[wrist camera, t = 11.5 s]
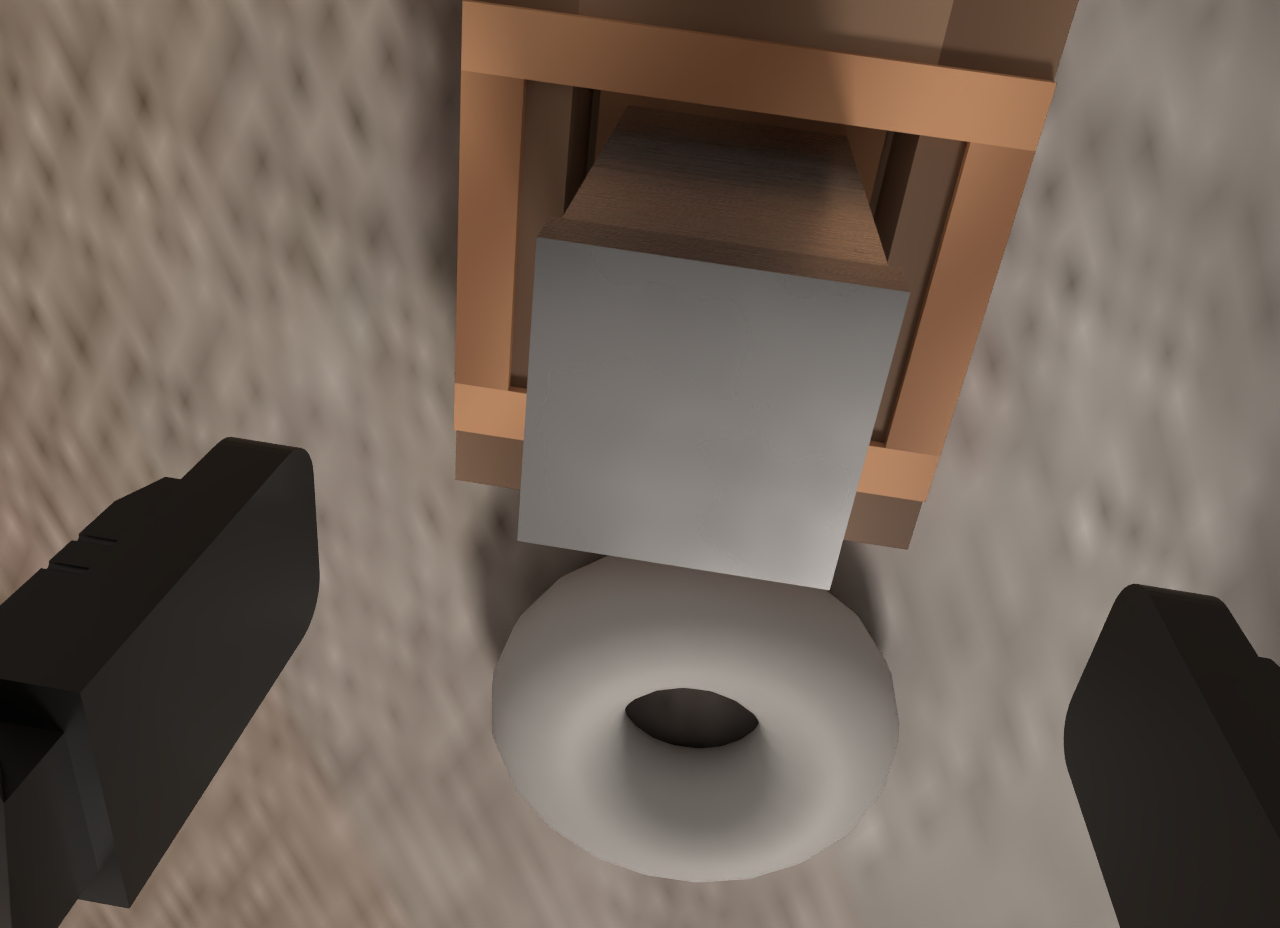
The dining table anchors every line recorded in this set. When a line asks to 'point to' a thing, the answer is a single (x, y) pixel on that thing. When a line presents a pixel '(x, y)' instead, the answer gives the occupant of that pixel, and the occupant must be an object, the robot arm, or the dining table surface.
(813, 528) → the silver metal block
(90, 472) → the dining table surface
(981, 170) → the wooden compartment tray
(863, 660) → the donut
